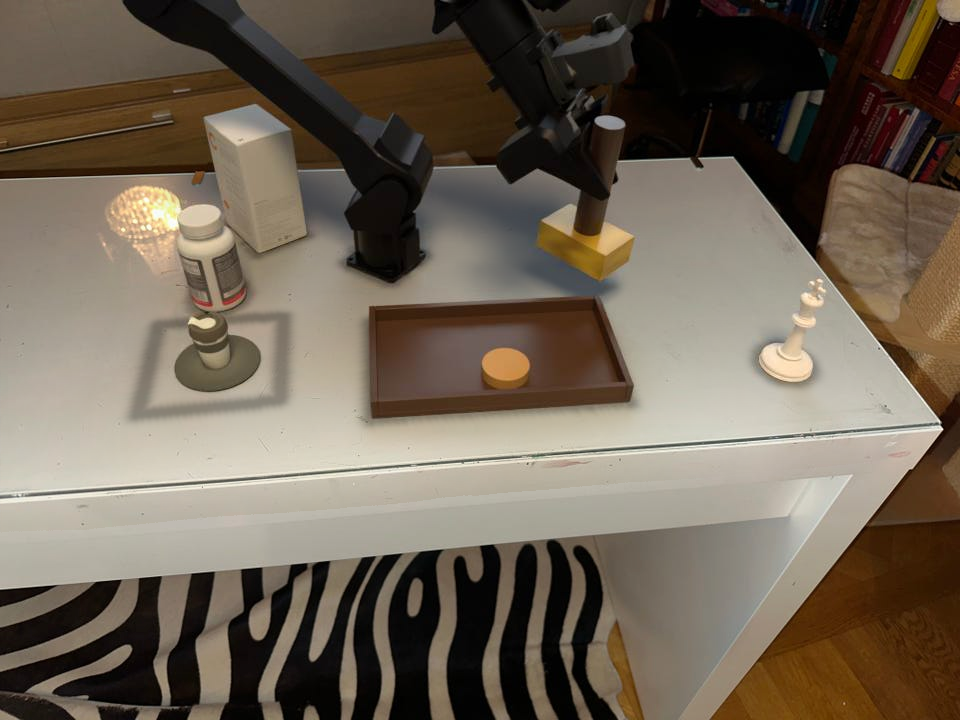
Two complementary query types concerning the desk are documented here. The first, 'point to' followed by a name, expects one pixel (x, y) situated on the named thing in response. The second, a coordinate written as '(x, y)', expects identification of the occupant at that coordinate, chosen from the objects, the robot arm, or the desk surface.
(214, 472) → the desk surface
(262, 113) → the small box
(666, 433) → the desk surface
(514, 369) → the disc
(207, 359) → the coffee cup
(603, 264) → the sponge wand
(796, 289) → the desk surface
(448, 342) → the tray
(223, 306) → the pill bottle
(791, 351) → the chess piece
